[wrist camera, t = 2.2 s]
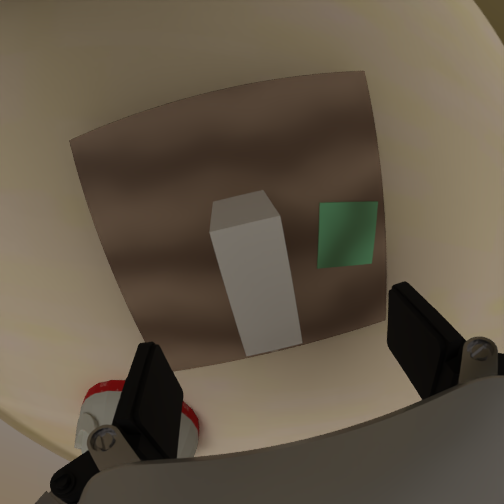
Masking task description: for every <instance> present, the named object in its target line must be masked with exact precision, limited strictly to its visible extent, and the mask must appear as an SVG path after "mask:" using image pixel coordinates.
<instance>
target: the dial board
mask: <svg viewBox="0 0 504 504" xmlns="http://www.w3.org/2000/svg"><path fill="white" fill-rule="evenodd" d="M69 142H70V146H71V150H72V153H73V157H74V161H75V165H76V168H77V172H78V175H79V179H80V182H81V185H82V188H83V192H84V195H85V198H86V201H87V204H88V207H89V210H90V213H91V216H92V219H93V222H94V225H95V228H96V230H97V233H98V236H99V238H100V241H101V244H102V246H103V249H104V252H105V254H106V257H107V259H108V262H109V264H110V267H111V269H112V272H113V274H114V276H115V279H116V281H117V283H118V286H119V288H120V290H121V292H122V295H123V297H124V299H125V301H126V304H127V306H128V308H129V310H130V312H131V314H132V316H133V318H134V321H135V323H136V325H137V327H138V329H139V331H140V333H141V335H142V337H143V339H144V341H145V342H151V341H153V342H154V343H155V344H159V345H160V347H161V349H162V351H163V353H164V355H165V357H166V359H167V361H168V363H169V365H170V367H171V369H172V371H179V370H185V369H191V368H197V367H203V366H209V365H214V364H220V363H225V362H230V361H235V360H240V359H245V358H249V357H254V356H258V355H263V354H267V353H272V352H276V351H280V350H284V349H288V348H292V347H296V346H300V345H304V344H308V343H311V342H315V341H319V340H322V339H326V338H329V337H333V336H336V335H340V334H343V333H347V332H350V331H353V330H356V329H360V328H363V327H366V326H369V325H372V324H375V323H378V322H381V321H384V320H385V319H386V278H387V272H386V231H385V213H384V199H383V187H382V177H381V167H380V159H379V151H378V144H377V137H376V130H375V124H374V117H373V112H372V106H371V101H370V95H369V90H368V85H367V81H366V76H365V72H364V71H349V72H334V73H322V74H312V75H303V76H295V77H288V78H281V79H274V80H268V81H262V82H256V83H251V84H245V85H240V86H235V87H231V88H226V89H221V90H217V91H213V92H209V93H204V94H200V95H197V96H193V97H189V98H185V99H182V100H178V101H175V102H171V103H168V104H165V105H161V106H158V107H155V108H152V109H149V110H146V111H143V112H140V113H137V114H134V115H131V116H128V117H125V118H123V119H120V120H117V121H115V122H112V123H109V124H107V125H104V126H102V127H99V128H97V129H94V130H92V131H90V132H87V133H85V134H83V135H80V136H78V137H76V138H73V139H71V140H69ZM261 190H264V192H265V193H266V195H267V196H268V198H269V199H270V201H271V202H272V204H273V205H274V207H275V208H276V210H277V212H278V213H279V215H280V217H281V222H282V228H283V233H284V238H285V244H286V249H287V255H288V260H289V266H290V271H291V277H292V283H293V288H294V294H295V300H296V306H297V312H298V318H299V324H300V330H301V337H302V343H301V344H298V345H294V346H290V347H286V348H282V349H277V350H273V351H269V352H265V353H260V354H256V355H251V356H246V353H245V350H244V347H243V344H242V341H241V337H240V334H239V331H238V328H237V325H236V321H235V318H234V315H233V311H232V308H231V305H230V302H229V298H228V295H227V292H226V288H225V285H224V281H223V278H222V275H221V271H220V268H219V264H218V261H217V257H216V254H215V250H214V247H213V243H212V240H211V236H210V233H209V231H210V223H211V214H212V206H213V202H214V201H218V200H222V199H226V198H230V197H235V196H239V195H243V194H247V193H252V192H256V191H261Z"/></svg>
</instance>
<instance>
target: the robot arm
mask: <svg viewBox="0 0 504 504" xmlns="http://www.w3.org/2000/svg"><path fill="white" fill-rule="evenodd" d="M387 344H388V347H389V349H390V351H391V352H392V354H393V355H394V357H395V358H396V360H397V361H398V363H399V364H400V366H401V367H402V369H403V370H404V372H405V373H406V375H407V376H408V378H409V379H410V381H411V383H412V384H413V386H414V387H415V389H416V390H417V392H418V394H419V395H420V397H421V398H422V400H421V401H419V402H416V403H414V404H412V405H409V406H407V407H404V408H402V409H399V410H396V411H394V412H391V413H389V414H386V415H383V416H381V417H378V418H375V419H372V420H369V421H366V422H363V423H360V424H357V425H354V426H351V427H347V428H344V429H341V430H338V431H334V432H331V433H327V434H323V435H320V436H316V437H312V438H308V439H304V440H299V441H295V442H291V443H286V444H281V445H276V446H271V447H266V448H260V449H254V450H248V451H242V452H235V453H228V454H219V455H210V456H200V457H189V458H177V452H178V442H179V432H180V423H181V413H182V405H183V391H182V388H181V386H180V384H179V383H178V381H177V379H176V377H175V375H174V373H173V371H172V369H171V367H170V365H169V363H168V361H167V359H166V357H165V355H164V353H163V351H162V349H161V347H160V345H159V344H155V343H154V342H153V341H151V342H145V343H140V344H139V345H138V348H137V351H136V354H135V357H134V360H133V362H132V365H131V368H130V371H129V374H128V377H127V378H126V380H125V383H124V386H123V389H122V392H121V395H120V399H119V402H118V405H117V408H116V411H115V415H114V418H113V421H112V425H107V424H106V425H101V426H99V427H97V428H95V429H94V430H93V431H92V432H91V433H90V434H89V436H88V439H87V447H88V451H86V452H85V453H83V454H82V455H80V456H79V457H77V458H76V459H74V460H73V461H71V462H70V463H69V464H67V465H66V466H64V467H63V468H61V469H60V470H58V471H57V472H56V473H55V474H54V475H53V477H52V478H51V481H50V488H51V491H50V492H49V493H48V492H47V491H46V492H45V493H44V494H43V495H42V496H41V497H40V498H39V500H38V501H37V502H36V503H35V504H504V354H502V353H498V350H497V346H496V345H495V343H494V342H493V341H492V340H490V339H488V338H485V337H473V338H470V339H469V340H467V341H466V340H465V339H464V338H463V337H462V336H461V335H460V334H459V333H458V332H457V331H456V330H455V329H454V328H453V326H452V325H451V324H450V323H449V322H448V321H447V320H446V319H445V318H444V317H443V316H442V315H441V314H440V313H439V312H438V311H437V310H436V309H435V308H434V307H432V306H431V305H430V304H429V303H428V302H427V301H426V300H425V299H424V298H423V297H422V296H421V295H420V294H419V293H418V292H417V291H416V290H415V289H414V288H413V287H412V286H411V285H410V284H409V283H407V282H401V283H398V284H395V285H393V286H392V289H391V290H389V303H388V331H387Z"/></svg>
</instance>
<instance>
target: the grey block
mask: <svg viewBox="0 0 504 504" xmlns="http://www.w3.org/2000/svg"><path fill="white" fill-rule="evenodd" d="M209 233H210V236H211V240H212V243H213V247H214V250H215V254H216V257H217V261H218V264H219V268H220V271H221V275H222V278H223V281H224V285H225V288H226V292H227V295H228V298H229V302H230V305H231V308H232V311H233V315H234V318H235V321H236V325H237V328H238V331H239V334H240V337H241V341H242V344H243V347H244V350H245V353H246V356H251V355H256V354H260V353H265V352H269V351H273V350H277V349H282V348H286V347H290V346H294V345H298V344H301V343H302V337H301V330H300V324H299V318H298V312H297V306H296V300H295V294H294V288H293V283H292V277H291V271H290V266H289V260H288V255H287V249H286V244H285V238H284V233H283V228H282V222H281V217H280V215H279V213H278V212H277V210H276V208H275V207H274V205H273V204H272V202H271V201H270V199H269V198H268V196H267V195H266V193H265V192H264V190H261V191H256V192H252V193H247V194H243V195H239V196H235V197H230V198H226V199H222V200H218V201H214V202H213V206H212V214H211V223H210V231H209Z"/></svg>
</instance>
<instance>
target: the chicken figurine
mask: <svg viewBox="0 0 504 504" xmlns="http://www.w3.org/2000/svg"><path fill="white" fill-rule="evenodd" d="M124 383H125V380H110V381H106V382H101V383H98V384H96V385H95V386H93V387H92V388H90V389H89V390H88V392H87V394H86V396H85V399H84V401H83V404H82V407H81V411H80V417H79V419H78V423H77V430H76V438H75V448H77V449H81V450H82V454H83V453H85V452H86V451H88V447H87V439H88V436H89V434H90V433H91V432H92V431H93V430H94V429H95V428H97V427H99V426H101V425H106V424H107V425H112V421H113V418H114V415H115V411H116V408H117V405H118V402H119V399H120V395H121V392H122V389H123V386H124ZM198 440H199V424H198V418H197V417H196V415H195V413H194V412H193V410H192V409H191V408H190V407H189V406H188V405H187V404H186V403H184V402H183V405H182V413H181V423H180V432H179V442H178V452H177V458H189V457H194V454H195V452H196V449H197V445H198Z"/></svg>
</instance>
